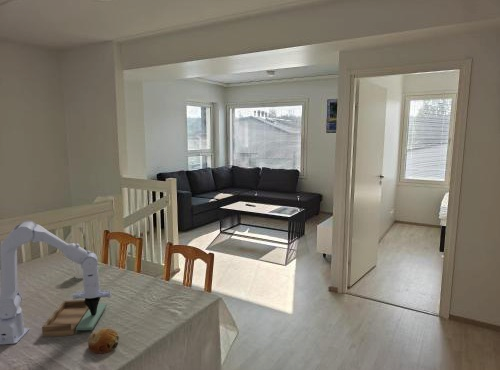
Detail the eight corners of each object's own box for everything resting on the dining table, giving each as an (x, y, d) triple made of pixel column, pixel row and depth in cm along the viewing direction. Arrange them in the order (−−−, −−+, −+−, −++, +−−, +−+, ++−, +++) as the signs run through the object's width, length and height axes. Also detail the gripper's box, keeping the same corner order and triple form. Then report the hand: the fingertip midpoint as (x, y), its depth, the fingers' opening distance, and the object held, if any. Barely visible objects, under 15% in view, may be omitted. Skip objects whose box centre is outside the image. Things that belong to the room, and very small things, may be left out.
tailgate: (76, 331, 132) (92, 331, 133) (75, 327, 132) (92, 327, 132) (92, 306, 150) (107, 306, 151) (92, 303, 150) (107, 303, 151)
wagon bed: (73, 334, 131) (72, 325, 131) (43, 336, 130) (41, 327, 130) (91, 307, 151) (90, 299, 150) (65, 309, 150) (64, 300, 149)
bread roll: (113, 344, 131) (107, 324, 132) (126, 343, 125) (119, 322, 126) (87, 358, 124) (81, 336, 125) (99, 357, 117) (93, 334, 118)
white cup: (73, 274, 186) (72, 256, 184) (90, 272, 189) (88, 254, 187) (73, 280, 178) (71, 262, 177) (90, 277, 182) (88, 259, 180)
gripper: (112, 277, 144) (115, 308, 146) (76, 279, 142) (79, 310, 144) (107, 285, 137) (110, 316, 139) (69, 287, 135) (72, 319, 137)
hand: (94, 314), depth 141 cm, fingers closed
